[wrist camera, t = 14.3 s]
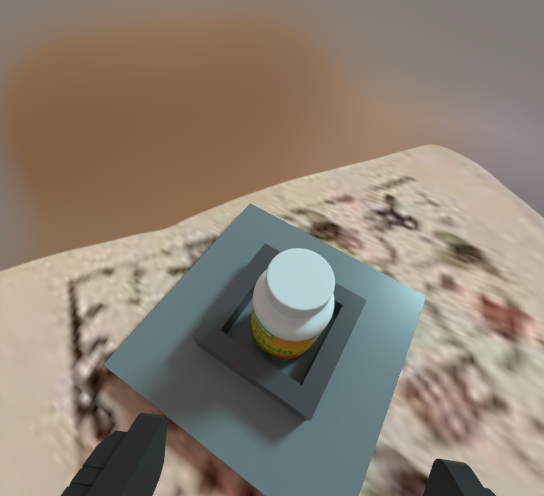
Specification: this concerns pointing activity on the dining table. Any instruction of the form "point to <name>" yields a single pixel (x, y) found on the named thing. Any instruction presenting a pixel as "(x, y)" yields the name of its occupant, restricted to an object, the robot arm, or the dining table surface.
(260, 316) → the supplement bottle
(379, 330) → the socket board
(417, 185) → the dining table surface
